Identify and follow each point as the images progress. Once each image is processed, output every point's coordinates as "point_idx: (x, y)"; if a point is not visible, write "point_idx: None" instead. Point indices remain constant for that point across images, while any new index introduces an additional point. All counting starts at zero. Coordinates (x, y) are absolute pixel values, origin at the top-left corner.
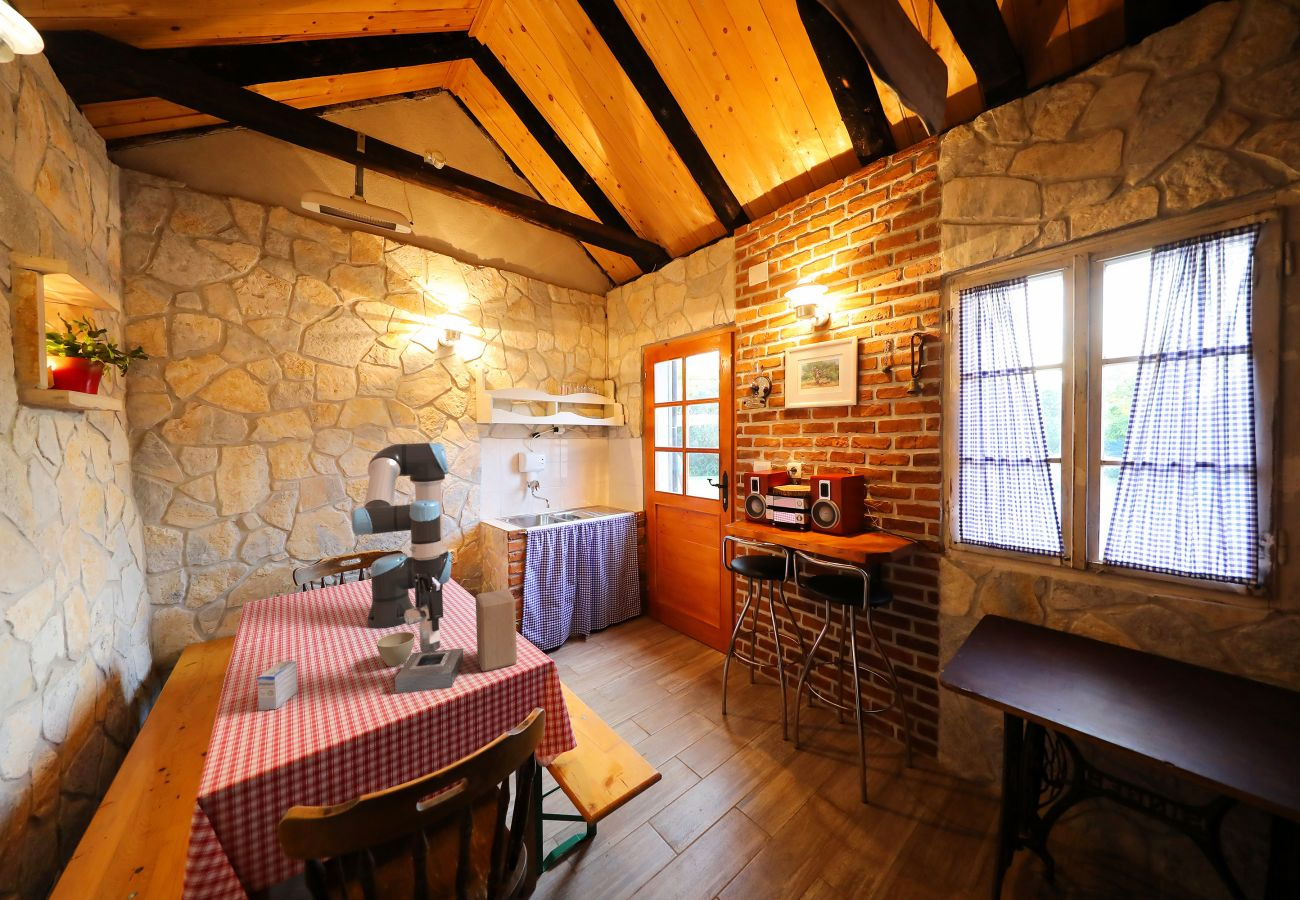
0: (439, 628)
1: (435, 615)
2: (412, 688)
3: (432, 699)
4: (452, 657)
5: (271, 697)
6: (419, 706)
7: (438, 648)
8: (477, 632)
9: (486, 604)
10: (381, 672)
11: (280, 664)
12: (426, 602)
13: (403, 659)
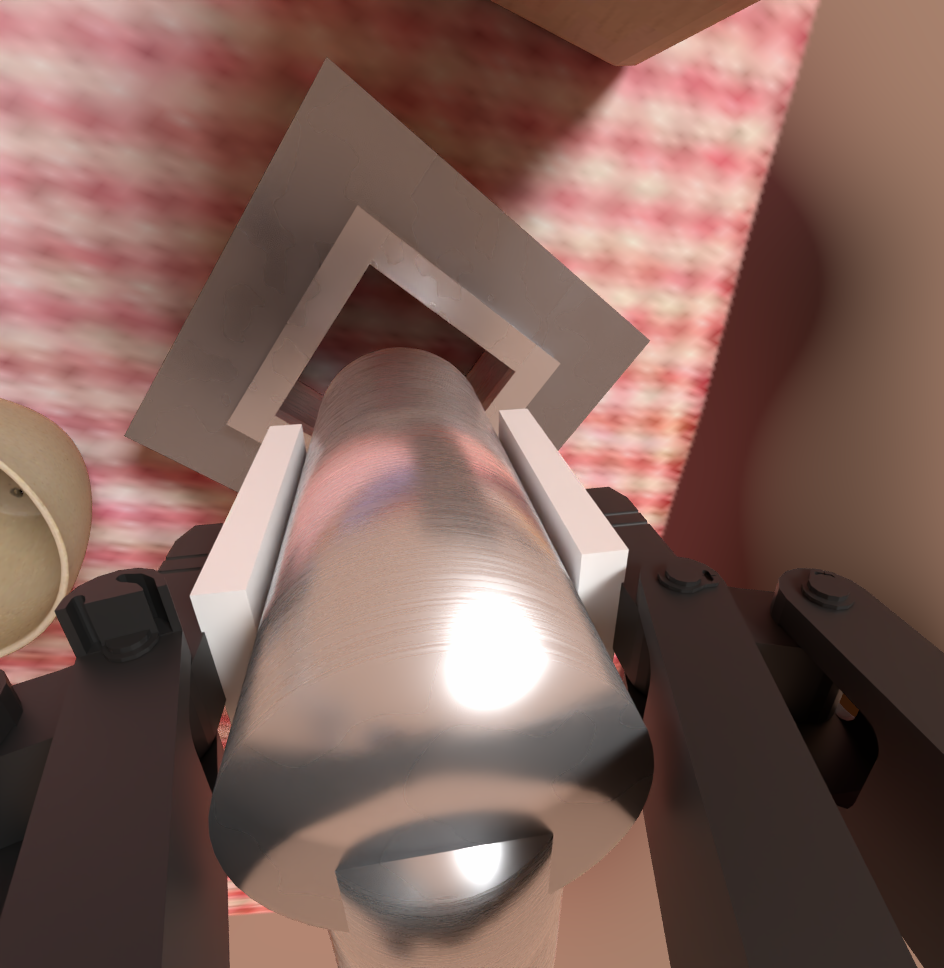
0: (564, 464)
1: (851, 726)
2: None
3: (629, 437)
4: (439, 231)
5: None
6: (631, 495)
7: (468, 382)
8: None
9: None
10: (125, 550)
11: None
12: (196, 859)
13: (78, 454)
